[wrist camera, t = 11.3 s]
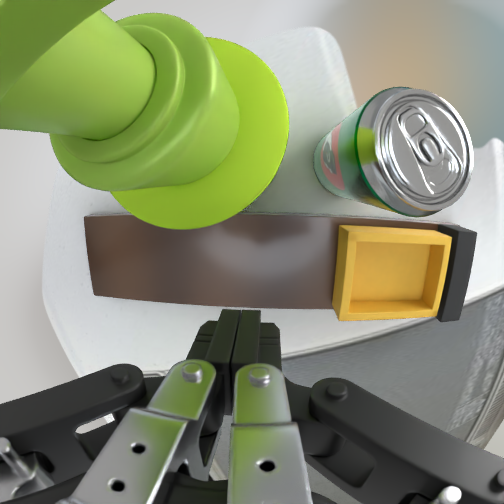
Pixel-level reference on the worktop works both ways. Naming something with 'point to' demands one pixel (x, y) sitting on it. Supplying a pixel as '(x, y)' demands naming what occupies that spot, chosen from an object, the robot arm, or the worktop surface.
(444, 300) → the end stop
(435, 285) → the tray
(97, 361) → the worktop surface
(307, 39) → the worktop surface
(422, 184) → the soda can
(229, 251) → the board
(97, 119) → the soap dispenser
